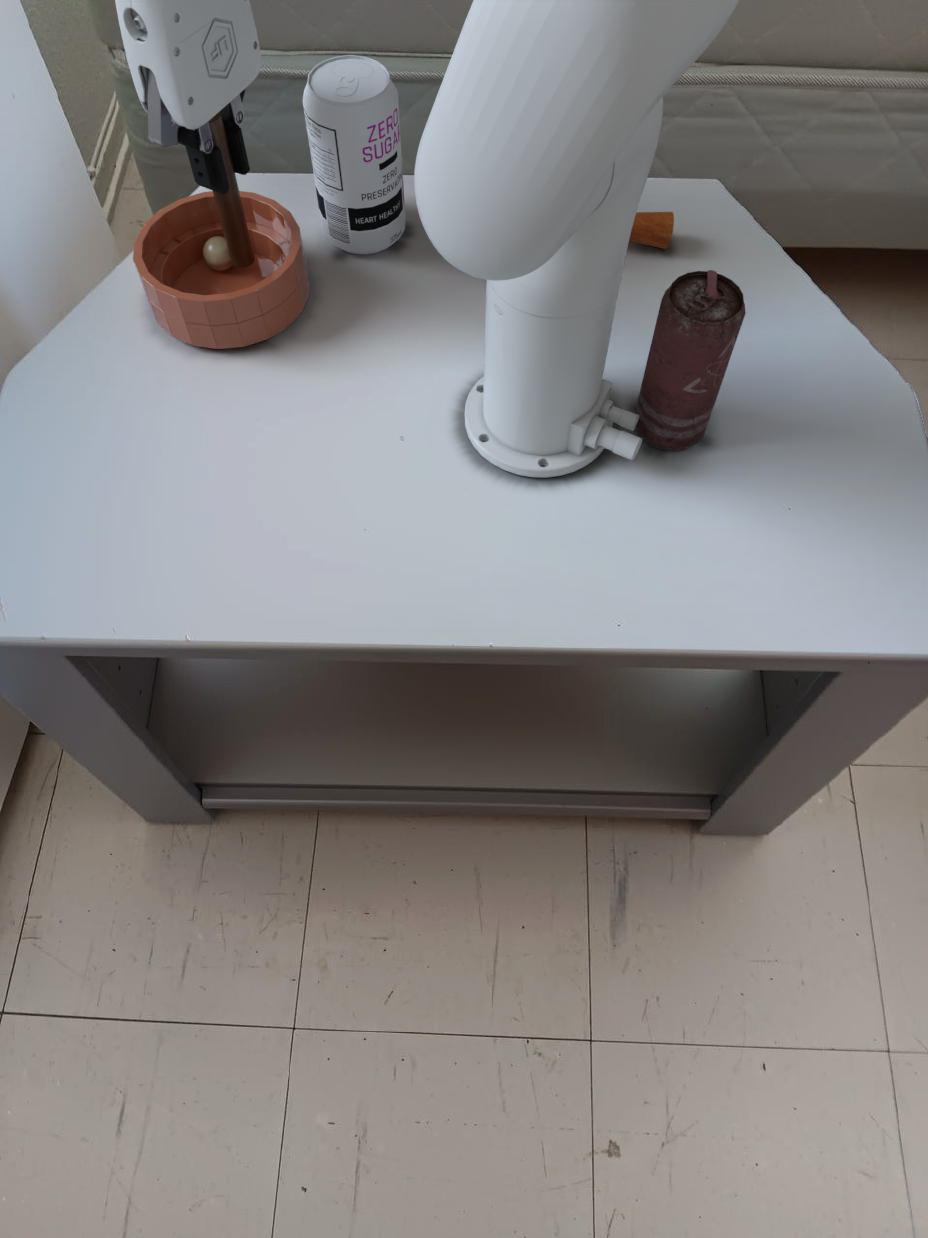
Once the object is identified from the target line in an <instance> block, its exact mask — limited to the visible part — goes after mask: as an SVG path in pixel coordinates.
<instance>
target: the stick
mask: <svg viewBox="0 0 928 1238" xmlns="http://www.w3.org/2000/svg"><path fill="white" fill-rule="evenodd" d="M208 122H209V126H210V130H211V135H212V139H213V145H215V146H217V147H219V148H220V150H221V153H222V157H223V162H224V166H225V170H226V174H227V178H228V182H229V191H228V192H227V193H226V194H225V195H223V194H221V193H218V192H215V191H213V190H211V191H213V195H214V198H215V202H216V206H217V210H218V214H219V218H220V221H221V225H222V229H223V233H224V237H225V241H226V245H227V248H228V252H229V256H230V260H231V263H232V264H233V265H234V266H235V267H238V268H246V267H249V266H250V265H252V264H253V263H254V260H255V257H254V253H253V249H252V244H251V240H250V236H249V231H248V227H247V223H246V219H245V214H244V210H243V206H242V201H241V197H240V193H239V191H240V189H239V184H238V181H237V180H238V179H237V175H236V172H235V171H234V167H233V163H232V158H231V154H230V150H229V145H228V141H227V137H226V133H225V128H224V124H223V120H222V115H221V112H220V111H219V112H218V113H217V114H216V115H215V116H214V117H213V118H211V119H210V120H209V121H208Z"/></svg>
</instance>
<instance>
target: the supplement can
mask: <svg viewBox="0 0 928 1238" xmlns="http://www.w3.org/2000/svg"><path fill="white" fill-rule="evenodd" d="M306 81H307V82H306V84H305V86H304V90H303V95H302V106H303V113H304V121H305V127H306V132H307V139H308V140H307V141H308V147H309V152H310V159H311V166H312V171H313V179H314V185H315V193H316V198H317V204H318V205H317V206H318V211H319V218H320V225H321V230H322V232H323V234H324V237H325V239H326V240H327V241H329V242H330V243H331V244H332V245H333V246H334V247H336V248H338V249H340V250H342V251H344V252H347V253H350V254H356V255H371V254H377V253H380V252H381V251H385V250H387V249H389V248H390V247H391V246H392V245H393V244H395V243H396V242H397V241H398V240H399V239H400V238H401V237H402V235H403V233H404V232H405V230H406V221H407V219H406V205H405V190H404V189H405V188H404V187H405V186H404V171H403V155H402V140H401V139H402V138H401V123H400V121H401V120H400V106H399V104H400V103H399V90H398V89H397V87H396V85H395V84H394V82H393V80H392V78H391V77H390V73H389V71H388V69H387V67H386V66H385V65H384V64H382V63H381V62H380V61H378V60H376V59H374V58H370V57H368V56H365V55H355V54H347V55H346V54H345V55H337V56H334V57H330V58H328V59H324V60H323V61H321V62H319V63H317V64H316V65H314V66H313V68H312V69H311V70H310V71H309V73H308V74H307V80H306Z"/></svg>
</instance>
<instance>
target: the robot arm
mask: <svg viewBox="0 0 928 1238" xmlns="http://www.w3.org/2000/svg"><path fill="white" fill-rule="evenodd" d="M740 1H741V0H472V2H471V5H470V8H469V10H468V12H467V16H466V17H465V20H464V23H463V26H462V28H461V31H460V34H459V36H458V39H457V42H456V44H455V46H454V49H453V52H452V55H451V57H450V60H449V63H448V65H447V68H446V71H445V73H444V75H443V78H442V81H441V83H440V87H439V89H438V92H437V93H436V97H435V100H434V103H433V105H432V107H431V110H430V113H429V115H428V117H427V121H426V123H425V125H424V126H425V127H424V129H423V131H422V134H421V137H420V141H419V145H418V148H417V153H416V157H415V163H414V172H413V173H414V174H413V186H414V187H413V188H414V198H415V203H416V204H415V205H416V208H417V212H418V215H419V219H420V221H421V224H422V226H423V228H424V231H425V234H426V235H427V237H428V239H429V241H430V242H431V244H432V245H433V247H434V248H435V250H436V251H437V252H438V253H439V254H440V255H441V256H442V258H443V259H444V260H445V261H447V263H449V264H450V265H451V266H453V267H454V268H455V269H457V270H459V271H461V272H462V273H464V274H466V275H469V276H470V277H473V278H477V279H481V280H484V281H485V280H486V289H485V290H486V292H485V321H484V322H485V323H484V330H485V331H484V359H483V362H484V363H483V375H482V377H480V379H478V380H477V381H476V383H474V385H473V386H472V388H471V390H470V391H469V392H468V396H467V398H466V401H465V406H464V427H465V430H466V433H467V437H468V439H469V441H470V442H471V444H472V446H473V448H474V449H475V450H476V451H477V452H478V453H479V454H480V456H481V457H483V458H484V459H485V460H487V461H488V462H489V463H491V464H492V465H494V466H496V467H497V468H499V469H501V470H504V471H505V472H509V473H512V474H514V475H517V476H522V477H530V478H553V477H561V476H564V475H568V474H571V473H574V472H577V471H578V470H580V469H583V468H585V467H587V466H588V465H590V463H592V462H593V461H595V459H596V460H597V458H598V457H599V456H600V455H601V454H602V452H603V451H604V450H605V449H606V450H608V451H611V452H612V453H613V454H615V455H618V456H620V457H623V458H625V459H628V460H630V461H634V460H635V458H636V457H637V455H638V453H639V451H640V449H641V445H642V442H643V438H642V437H641V436H637V435H635V434H632V433H631V432H630V433H629V432H627V431H625V430H622V429H621V430H619V429H617V428H615V427H614V426H613V425H614V424H617V425H618V426H619V427H622V428H625V429H627V430H630V431H634V430H635V429H636V425H637V422H638V420H639V415H637V414H635V412H633V411H630V410H628V409H622V408H620V407H617V406H615V402H614V401H613V400H611V399H610V398H611V397H610V396H611V392H612V386H613V383H612V382H611V381H609V380H606V379H603V378H604V373H605V368H606V367H605V366H606V361H607V357H608V351H609V345H610V339H611V335H612V328H613V324H614V319H615V313H616V307H617V303H618V298H619V297H618V296H619V291H620V286H621V283H622V278H623V273H624V267H625V262H626V258H627V252H628V247H629V243H630V241H629V238H630V234H631V230H632V226H633V222H634V219H635V215H636V212H637V211H638V208H639V205H640V202H641V199H642V196H643V192H644V189H645V186H646V184H647V180H648V177H649V175H650V171H651V169H652V164H653V162H654V159H655V155H656V151H657V147H658V145H659V140H660V135H661V131H662V124H663V118H664V117H663V116H664V115H663V114H664V96H665V95H666V94H667V92H669V91H670V90H671V88H672V87H673V86H674V85H675V84H676V83H677V82H678V81H679V80H680V79H681V78H682V76H683V75H684V74H685V73H686V72H687V71H688V70H689V69H690V68H691V67H692V66H693V64H695V63H696V62H697V60H698V59H699V58H700V57H701V56H702V55H703V54H704V52H705V51H706V50H707V49H708V48H709V47H710V45H711V44H712V43H713V42H714V41H715V39H716V38H717V37H718V36H719V34H720V33H721V32H722V30H723V29H724V27H725V26H726V24H727V23H728V21H729V20H730V17H731V16H732V15H733V13H734V11H735V10H736V8H737V7H738V4H740V3H739V2H740ZM114 2H115V9H116V14H117V19H118V25H119V28H120V35H121V39H122V43H123V48H124V52H125V56H126V60H127V64H128V68H129V72H130V75H131V79H132V82H133V85H134V88H135V91H136V94H137V97H138V99H139V102H140V104H141V106H142V108H143V110H144V112H145V113H146V114H147V138H148V141H149V142H151V143H152V144H156V145H158V146H161V147H165V148H166V147H167V148H168V147H172V146H177V145H181V146H184V147H185V150H186V153H187V157H188V162H189V165H190V169H191V171H192V175H193V179H194V182H195V183H196V184H197V185H198V186H200V187H203V188H205V189H207V190H210V191H212V190H213V191H215V192H218V193H221V194H223V195H225V194H226V193H227V192H228V191H229V182H228V178H227V174H226V170H225V166H224V162H223V157H222V153H221V150H220V148H219V147H217V146H215V145H213V139H212V135H211V130H210V126H209V122H208V121H209V120H210V119H211V118H213V117H214V116H215V115H216V114H217V113H218V112H219V111H220V112H221V115H222V120H223V124H224V128H225V133H226V137H227V141H228V145H229V150H230V154H231V158H232V163H233V167H234V171H235V174H239V175H243V176H246V175H247V174H248V173H249V172H250V171H251V168H250V167H251V166H250V163H249V158H248V154H247V149H246V145H245V140H244V136H243V130H242V127H240V126H241V125H243V123H244V121H245V111H244V107H243V102H244V98H245V94H246V89H247V87H249V86H250V85H251V84H252V83H253V82H254V81H255V80H256V79H257V77H259V74H260V72H261V70H262V67H263V61H262V53H261V47H260V42H259V37H258V36H259V35H258V31H257V28H256V23H255V19H254V15H253V10H252V6H251V2H250V0H114Z"/></svg>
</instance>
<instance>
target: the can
mask: <svg viewBox="0 0 928 1238" xmlns="http://www.w3.org/2000/svg"><path fill="white" fill-rule="evenodd" d="M746 314H747V313H746V304H745V299H744V293H743V291H742V290H741V288H740V286H739V285H738V284H737V283H735V282H734V281H733V280H732V279H731V278H729V277H727V276H725V275H723V274H721V273H718V272H717V271H715V270H713V269H709V270H707V271H706V270H696V271H691V272H690V271H689V272H686V273H684V274H682V275H680V276H677V278H676V279H675V280H673V281H672V283H670V286H669V287H668V288H667V289H665V290H664V293H663V295H662V298H661V300H660V305H659V309H658V313H657V316H656V317H657V318H656V321H655V325H654V329H653V334H652V339H651V343H650V346H649V351H648V355H647V359H646V363H645V368H644V372H643V376H642V380H641V385H640V389H639V394H638V397H637V402H636V406H635V409H634V413H635V414H637V415H639V420H638V422H637V425H636V427H635V429H636V431H637V433H638V434H639V436H640V438H642V440H644V441H645V443H647V444H649V445H651V446H652V447H653V448H655V449H659V450H662V451H668V452H669V451H671V452H676V451H682V450H686V449H688V448H690V447H691V446H694V445H695V444H698V442H700V440H701V439H702V438H704V435H705V433H706V431H707V428H708V424H709V421H710V419H711V415H712V413H713V410H714V406H715V404H716V401H717V398H718V395H719V392H720V389H721V386H722V384H723V380H724V378H725V375H726V372H727V369H728V366H729V363H730V360H731V357H732V355H733V352H734V348H735V346H736V342H737V340H738V337H739V335H740V331H741V328H742V326H743V322H744V319H745V318H746V317H745V316H746Z"/></svg>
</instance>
